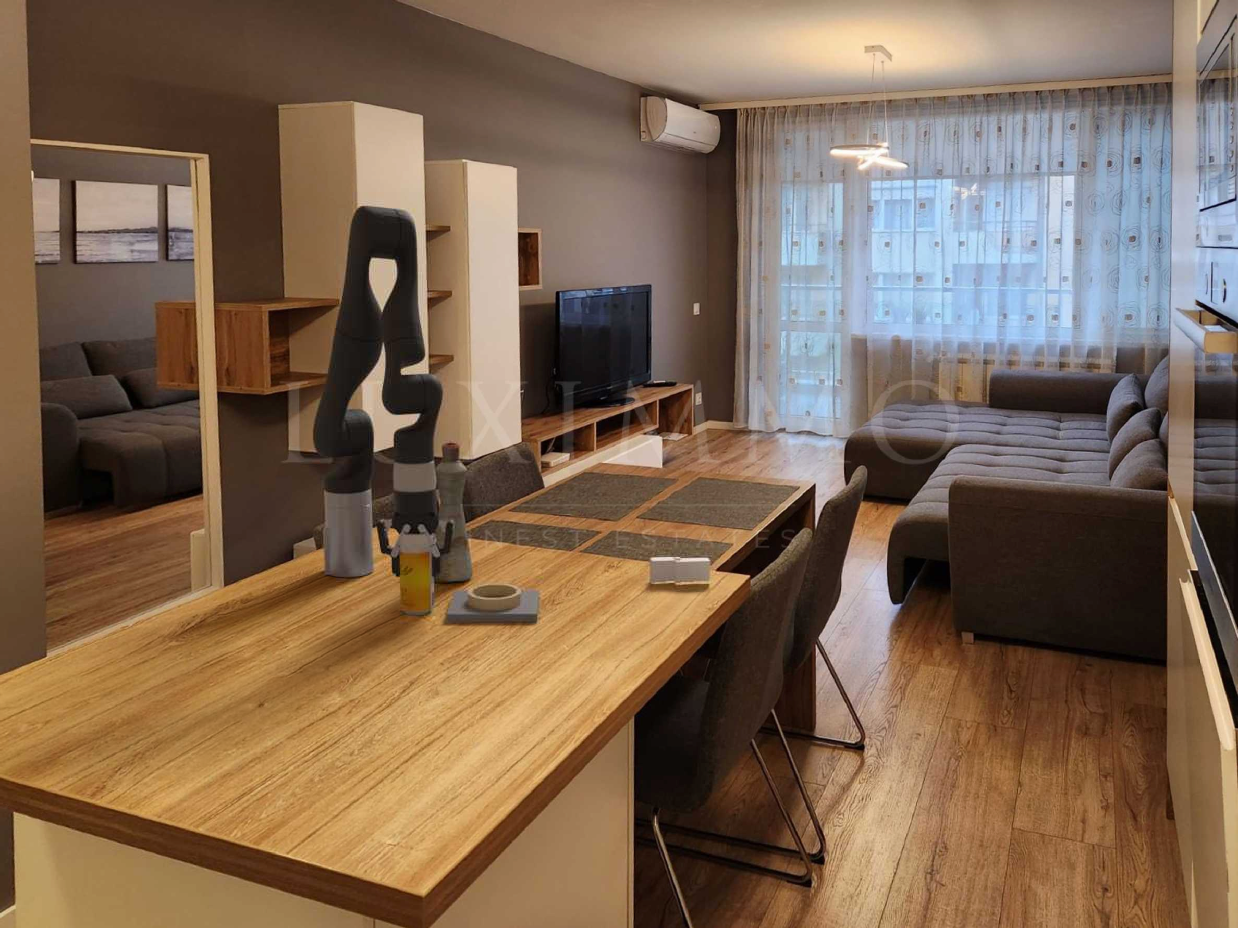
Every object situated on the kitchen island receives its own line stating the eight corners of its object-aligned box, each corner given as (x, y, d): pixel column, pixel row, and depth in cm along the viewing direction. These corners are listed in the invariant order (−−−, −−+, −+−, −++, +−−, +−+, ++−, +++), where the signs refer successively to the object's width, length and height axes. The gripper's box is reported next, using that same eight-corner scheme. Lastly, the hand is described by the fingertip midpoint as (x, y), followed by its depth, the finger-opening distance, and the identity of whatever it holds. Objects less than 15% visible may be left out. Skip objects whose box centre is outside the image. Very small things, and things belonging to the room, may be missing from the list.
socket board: (446, 622, 197) (446, 603, 196) (454, 597, 211) (454, 580, 210) (537, 621, 198) (537, 603, 197) (539, 597, 211) (539, 579, 211)
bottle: (437, 587, 217) (434, 446, 212) (423, 575, 225) (420, 439, 219) (479, 582, 221) (478, 443, 215) (464, 570, 229) (462, 436, 223)
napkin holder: (723, 583, 224) (724, 555, 222) (698, 597, 214) (698, 569, 213) (657, 571, 231) (658, 545, 230) (630, 585, 221) (631, 557, 220)
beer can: (402, 605, 206) (400, 527, 203) (435, 605, 206) (434, 526, 203) (399, 616, 200) (396, 535, 197) (433, 615, 200) (431, 535, 197)
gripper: (370, 490, 195) (373, 582, 198) (452, 490, 195) (454, 581, 198) (377, 481, 202) (380, 570, 205) (457, 481, 202) (458, 570, 206)
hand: (416, 575), depth 202 cm, fingers closed on beer can, 6 cm apart
